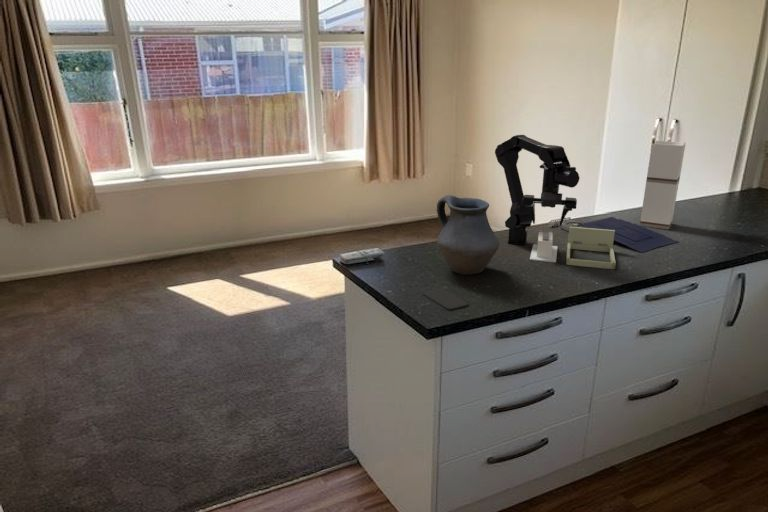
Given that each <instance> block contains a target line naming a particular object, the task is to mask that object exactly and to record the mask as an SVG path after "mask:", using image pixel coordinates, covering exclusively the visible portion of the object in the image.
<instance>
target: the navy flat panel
mask: <svg viewBox="0 0 768 512" xmlns="http://www.w3.org/2000/svg"><path fill="white" fill-rule="evenodd" d="M582 223H583V222H582ZM581 225H583V226H586V227H585V228H594V229H606V230H615V234H614V241H615V242H617V243H619V244H622V245H625V246H626V247H628V248H630V249H633V250H635V251H638V252H640V253H644V252H647V251H650V250H653V249H656V248H659V247H663V246H667V245H671V244H675V243H676V244H677V243H678V242H679V241H678V240H675V239H673V238H671V237H669V236H667V235H664V234H662V233H659V232H658V231H655V230H652V229H649V228H648V227H647V228H646V227H645V226H640V224H636V223H633V222H631V221H627V220H624V219H621V218H619V219H618V218H616V217H613V216H610V217H604V218H601V219H597V220H592V221H587V222H584V223H583V224H581Z"/></svg>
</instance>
